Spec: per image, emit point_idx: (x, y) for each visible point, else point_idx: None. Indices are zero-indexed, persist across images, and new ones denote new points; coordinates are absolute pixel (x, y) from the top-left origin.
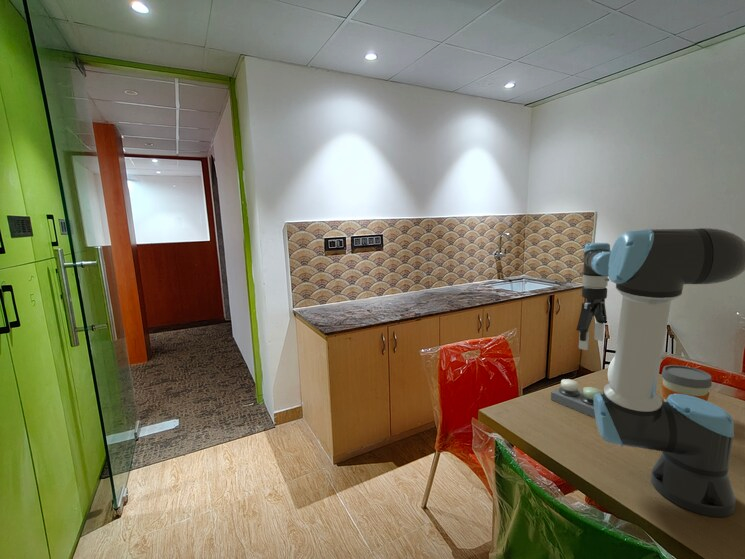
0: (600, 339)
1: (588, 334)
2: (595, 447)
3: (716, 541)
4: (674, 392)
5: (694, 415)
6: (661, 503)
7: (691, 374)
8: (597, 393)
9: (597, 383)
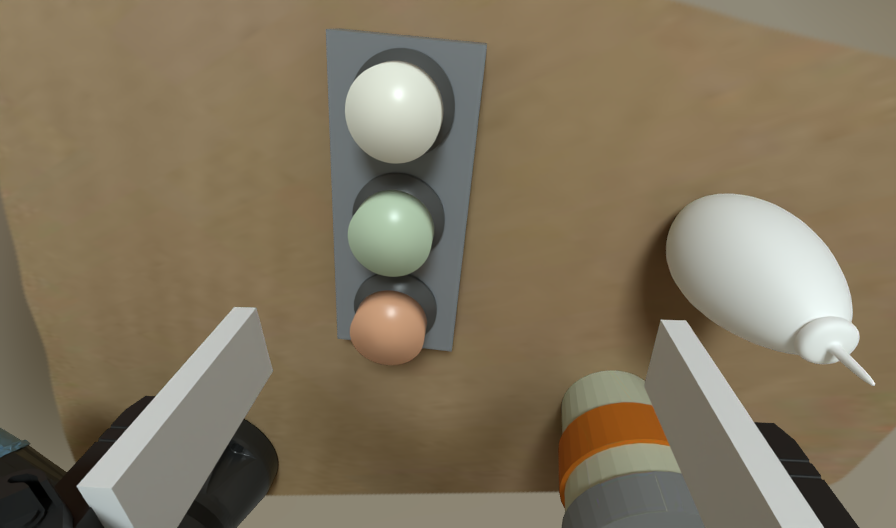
0: (652, 383)
1: (168, 524)
2: (174, 294)
3: None
4: (564, 472)
5: None
6: None
7: None
8: (375, 265)
9: (728, 122)
